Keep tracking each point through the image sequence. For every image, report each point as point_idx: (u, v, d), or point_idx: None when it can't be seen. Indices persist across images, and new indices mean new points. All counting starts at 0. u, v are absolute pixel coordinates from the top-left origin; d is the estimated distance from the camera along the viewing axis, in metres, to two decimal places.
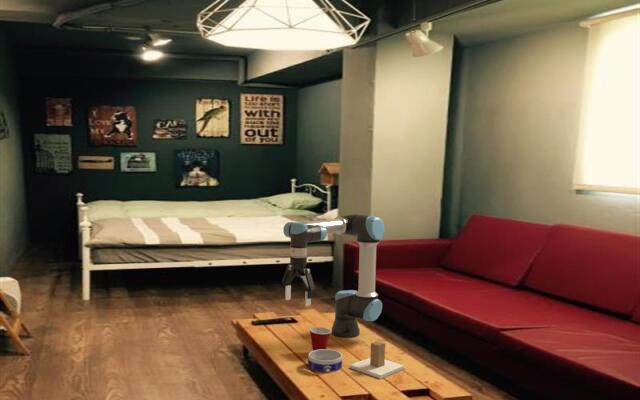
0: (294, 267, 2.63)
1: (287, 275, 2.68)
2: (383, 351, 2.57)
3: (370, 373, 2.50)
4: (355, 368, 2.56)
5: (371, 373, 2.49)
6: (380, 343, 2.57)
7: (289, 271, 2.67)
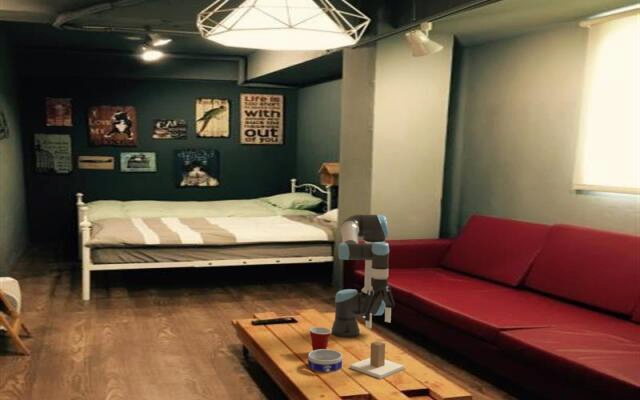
0: None
1: (388, 296, 2.61)
2: (383, 351, 2.57)
3: (370, 373, 2.50)
4: (355, 368, 2.56)
5: (371, 373, 2.49)
6: (380, 343, 2.57)
7: (387, 293, 2.60)
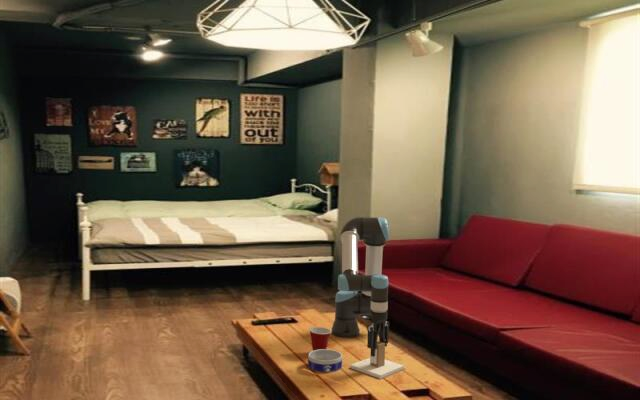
0: None
1: (384, 332, 2.61)
2: (383, 351, 2.57)
3: (370, 373, 2.50)
4: (355, 368, 2.56)
5: (371, 373, 2.49)
6: (380, 343, 2.57)
7: (385, 328, 2.60)
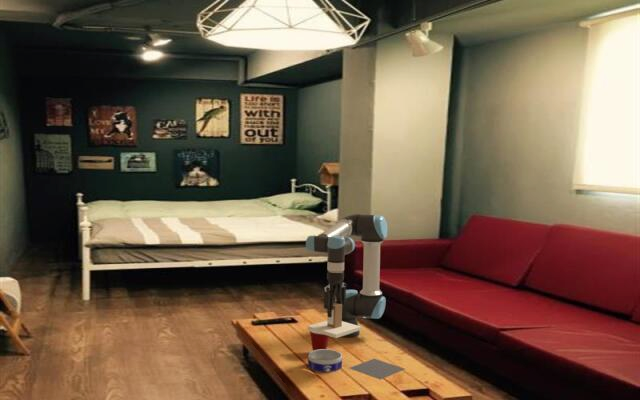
0: None
1: (341, 294, 2.61)
2: (340, 312, 2.57)
3: (326, 333, 2.50)
4: (312, 329, 2.56)
5: (327, 333, 2.49)
6: (337, 304, 2.57)
7: (342, 289, 2.60)
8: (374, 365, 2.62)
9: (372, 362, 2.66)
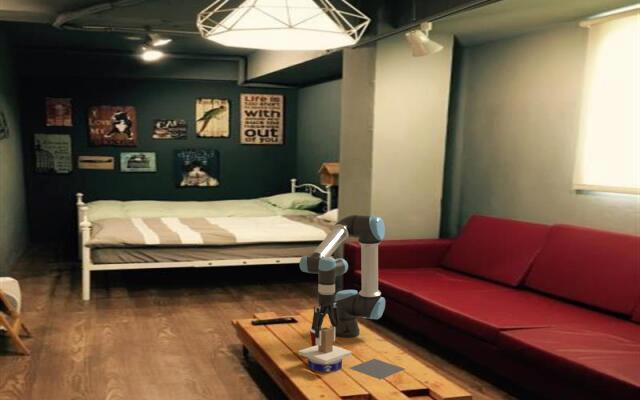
0: None
1: (334, 314, 2.63)
2: (331, 337, 2.58)
3: (316, 359, 2.51)
4: (303, 354, 2.57)
5: (317, 359, 2.51)
6: (328, 329, 2.58)
7: (334, 309, 2.62)
8: (374, 365, 2.62)
9: (372, 362, 2.66)
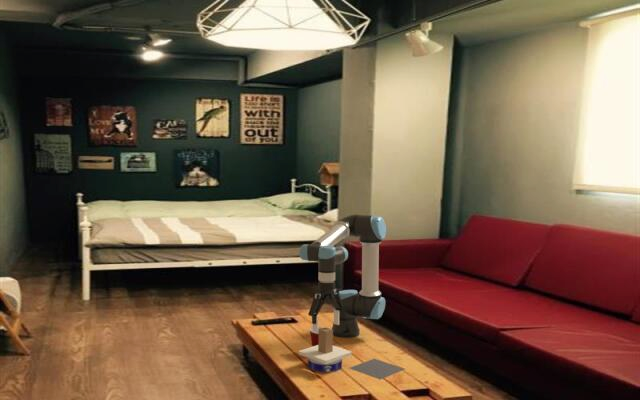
0: None
1: (336, 299, 2.63)
2: (331, 337, 2.58)
3: (316, 359, 2.51)
4: (303, 354, 2.57)
5: (317, 359, 2.51)
6: (328, 329, 2.59)
7: (335, 295, 2.62)
8: (374, 365, 2.62)
9: (372, 362, 2.66)
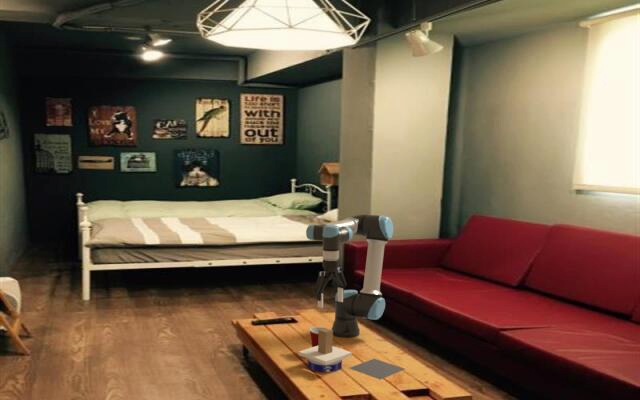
0: None
1: (340, 277, 2.71)
2: (331, 338, 2.58)
3: (316, 359, 2.51)
4: (303, 355, 2.57)
5: (317, 359, 2.51)
6: (328, 330, 2.58)
7: (339, 273, 2.70)
8: (374, 365, 2.62)
9: (372, 362, 2.66)
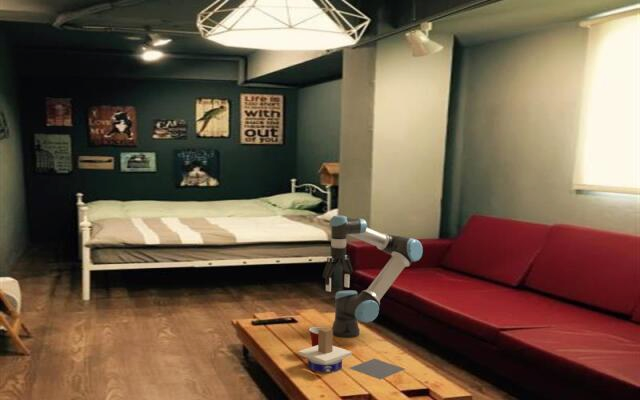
0: None
1: (347, 264, 2.93)
2: (331, 337, 2.58)
3: (316, 359, 2.51)
4: (303, 354, 2.57)
5: (317, 359, 2.51)
6: (328, 329, 2.58)
7: (346, 261, 2.91)
8: (374, 365, 2.62)
9: (372, 362, 2.66)
